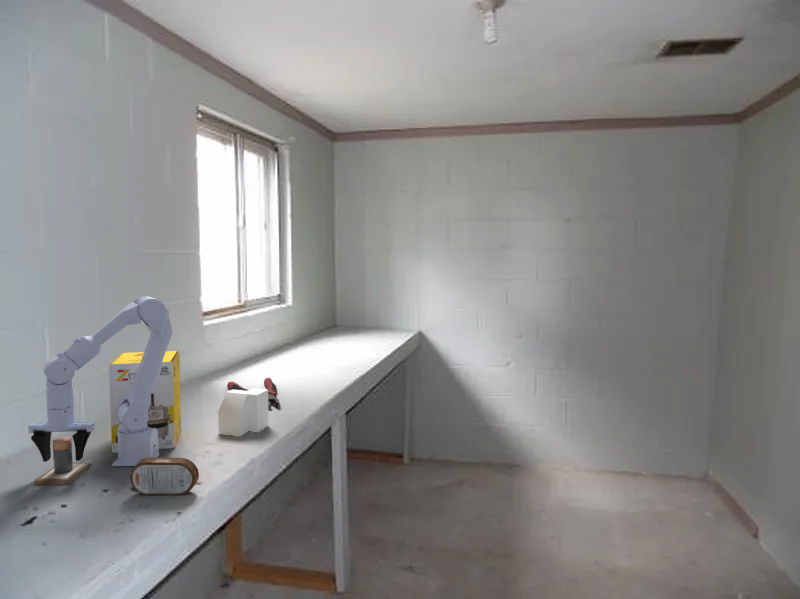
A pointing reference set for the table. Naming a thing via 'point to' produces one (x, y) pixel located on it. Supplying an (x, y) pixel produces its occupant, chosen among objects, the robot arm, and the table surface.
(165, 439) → the packaging box
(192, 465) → the tin
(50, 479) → the brown picture frame
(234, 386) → the pliers
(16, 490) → the table surface
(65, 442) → the gray and tan capsule
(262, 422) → the corner bracket
